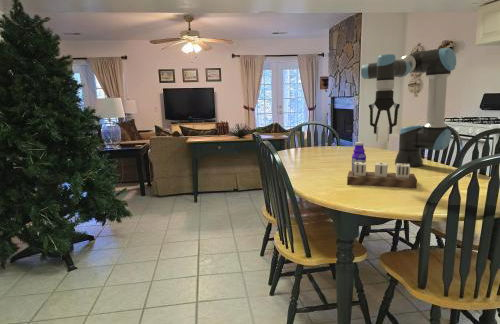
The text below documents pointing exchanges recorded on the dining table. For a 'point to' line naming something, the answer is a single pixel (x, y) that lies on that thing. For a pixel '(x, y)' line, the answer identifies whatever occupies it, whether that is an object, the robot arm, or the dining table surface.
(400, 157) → the robot arm
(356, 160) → the bottle
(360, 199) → the dining table surface
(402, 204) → the dining table surface
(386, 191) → the dining table surface
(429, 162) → the dining table surface
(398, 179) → the keyboard base
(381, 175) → the cream block
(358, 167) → the key two
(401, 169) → the key three
